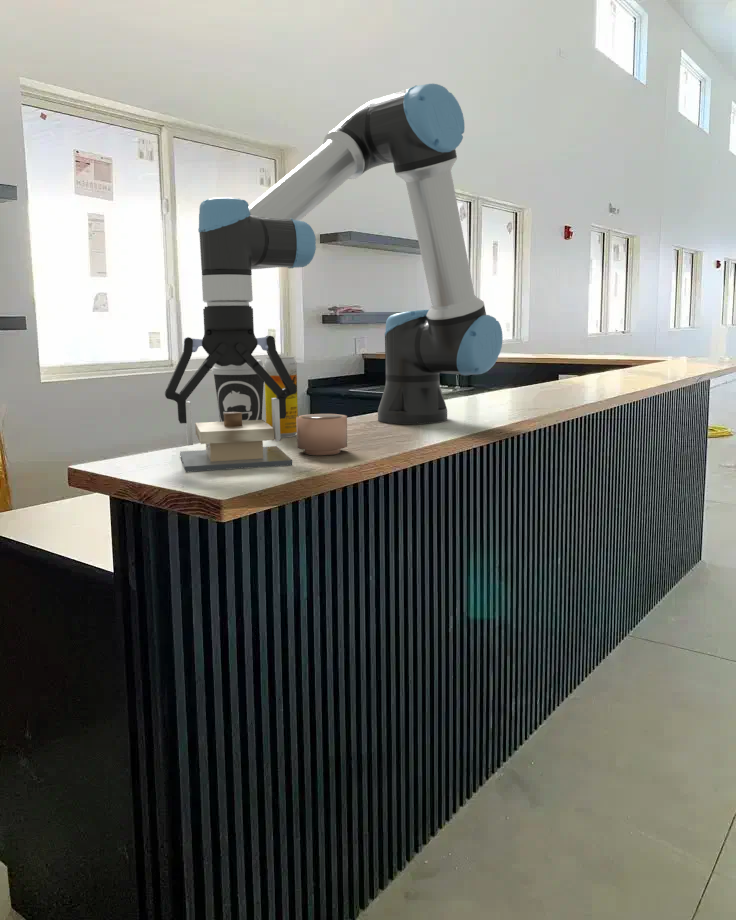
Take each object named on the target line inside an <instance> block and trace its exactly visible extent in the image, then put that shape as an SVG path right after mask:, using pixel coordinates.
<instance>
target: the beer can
mask: <svg viewBox="0 0 736 920" xmlns="http://www.w3.org/2000/svg"><path fill="white" fill-rule="evenodd" d="M279 356H280V358H281V360H282V362H283V364H284V366H285V368H286V369H287V371H288V373H289V375H290V377H291V379H292V381H293V383H294V385H295V386H296V388H297V389H298V373H297V372H298V370H297V361H296V359H295V356H293V355H291V356H290V355H285V356H284V355H282V356H281V355H279ZM265 357H266V358H265V361H264V362H263V366H265V368H266V371H267V373H268V374H269V375H270V376H271V377H272V378H273V380H274V381H275V382H276V383H277V384H278V385H279V386H280V387H281V388H282V389H284V388H285V386H284V384H283V382H282V380H281V378H280V376H279V375H278V373H277V371H276V369H275V367H274V365H273V363H272V361H271V360H270V358H269V356H265ZM272 398H277V396H276V395H275V394H274V392H273V391H272V390H271V389H270V388H269V387H268V386H267V385H266V384H265V383H264V399H265V400H264V401H265V422H266V423H268V424H269V425H270V426H271V427H273V426H272ZM298 408H299V406H298V391H297V392H296V393H295V394H292V395H290V396H288V397H287V398H286V417H285V418H284V419H280V439H281V438H291V437H295V436H296V437H297V423H296V417H297V416H299V413H298V412H299V410H298Z"/></svg>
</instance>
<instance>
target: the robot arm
mask: <svg viewBox="0 0 736 920" xmlns="http://www.w3.org/2000/svg"><path fill="white" fill-rule="evenodd" d="M464 133H465V118H464V114H463V110H462V108H461V105H460V103H459V101H458V99H457V98H456V97H455V95H454V94H453V93H452V92H451V91H449V90H448V88H446V87H445V86H444V85H441V84H438V83H426V84H419V85H413V86H411V87H409V88H407V89H403V90H400V91H396V92H394V93H390V94H387V95H384V96H379V97H376V98H373V99H371V100H370V101H368V102H366V103H365V104H363V105H361V106H360V107H358V108H357V109H356V110H355V111H353V112H352V113H351V114H350V115H348V116H347V117H346V118H344V119H343V120H342V121H341V122H340V123H339V124H337V125H336V126H335V127H334V128H333V129H331V130H330V131H329V132H328V133H326V135H325V136H324V137H323V142H322V145H321V146H320V147H318V148H317V149H316V150H315V151H314V152H312V153H311V155H309V156H307V158H305V159H304V160H303V161H302V162H300V163H299V164H298V165H297V166H295V168H293V169H292V170H291V171H289V172H288V173H287V174H286V175H285V176H284V177H282V178H281V179H280V180H279V181H278V182H276V183H275V184H274V185H273V186H271V187H270V188H269V189H268V190H266V192H264V193H263V194H262V195H261V196H259V197H258V198H257V199H256V200H255V201H253V202H251V203H250V205H249V202H248V201H246V200H245V199H241V198H237V197H212V198H207V199H205V200H203V201H202V202H201V203H200V204H199V208H198V209H199V212H198V233H199V234H198V235H199V248H200V267H201V285H202V286H201V288H202V302H203V303H206V306H204V308H203V310H202V311H203V313H202V315H203V332H204V333H203V337H202V339H201V338H192V337H189V336H186V337H185V338H184V339H183V352H182V353H181V355H180V357H179V360H178V362H177V365H176V367H175V369H174V371H173V374H172V375H171V378H170V381H169V382H168V384H167V387H166V389H165V391H164V396H165V399H167V400H172V401H175V402H176V405H177V420H178V422H179V424H185V430H186V431H185V432H186V434H185V435H186V445H187V446H194V440H193V439H194V438H193V419H192V418H193V417H192V402H191V401H187V399H188V398H189V397H191V396H190V395H191V394H192V393H193V392H194V391H195V389H196V388H197V387H198V385H199V384H200V383H201V381H202V380H203V379H204V378H205V377H206V375H208V373H209V372H210V371H211V370H212V368H213V367H214V366H215V363H216V364H217V365H220V366H228V365H235V366H241V365H243V364H245V363H247V364H248V365H249V366H250V367H251V368H252V369H253V370H254V371H255V373H256V374H257V375H258V376H259V377H260V378H261V379H262V380H263V381H264V385H265V384H266V385H267V386H268V387H269V388H270V389H271V390H272V391H273V392H274V394H275V395H276V396H277V398H272V426H273V428H274V440H273V441H275V442H276V441H277V442H278V441H281V438H280V419H284V418H285V417H286V398H287V397H288V396H290V395H292V394H295V393H296V392H297V393H298V387H297V388H296V386H295V385H294V383H293V381H292V379H291V377H290V375H289V373H288V371H287V369H286V368H285V366H284V364H283V362H282V360H281V358H280V356H281V355H279V353H278V351H277V346H276V340H275V337H274V336H273V335H266V336H264V337H263V336H262V337H256V336H255V328H254V325H255V324H254V308H252V307H253V306H251V305H250V303H252V302H253V299H254V297H253V279H252V278H253V277H252V275H253V274H252V271H253V270H262V269H275V268H287V269H294V268H295V269H297V268H298V269H299V268H304V267H306V266H308V265H309V264H311V262H312V261H313V259H314V256H315V254H316V250H317V245H316V244H317V239H316V234H315V231H314V230H313V228H312V226H311V225H310V224H309V223H308V222H306V221H303V220H302V219H303V218H305V217H306V216H308V215H309V213H310V212H312V211H314V209H315V208H316V207H318V206H319V205H320V204H321V203H322V202H324V200H325V199H327V198H328V197H329V196H331V195H332V193H334V192H335V191H336V190H337V189H338V188H340V187H341V186H342V185H343V184H345V182H346V181H348V180H357V179H358V178H359V177H360V176H362V175H363V174H364V173H365V172H367V171H368V170H371V169H373V168H377V167H379V166H383V165H386V164H393V168H394V172H395V175H396V176H397V177H399V178H400V179H402V180H403V181H404V182H405V185H406V190H407V195H408V198H409V204H410V208H411V212H412V213H411V214H412V217H413V222H414V227H415V231H416V235H417V241H418V246H419V250H420V255H421V260H422V264H423V268H424V270H423V271H424V274H425V278H426V279H425V280H426V283H427V288H428V293H429V298H430V303H431V307H430V308H429V309H420V310H411V311H410V310H409V311H408V310H407V311H402V312H398V313H394V314H391V315H389V316H388V318H387V319H386V322H385V332H384V354H385V355H384V356H385V357H384V359H385V361H384V362H385V364H384V365H385V385H384V390H383V393H382V397H381V399H380V403H379V406H378V409H377V420H378V421H379V422H382V423H387V424H388V423H389V424H404V425H409V424H410V425H415V424H416V425H418V424H419V425H420V424H422V425H423V424H434V423H435V424H437V423H443V422H446V421H448V408H447V405H446V401H445V398H444V395H443V392H442V388H441V383H440V374H448V375H449V374H451V375H462V376H464V377H465V376H470V375H473V376H474V375H475V376H476V375H482V374H485V373H487V372H488V371H489V370H491V368H493V367H494V365H495V364H496V362H497V361H498V359H499V355H500V354H501V352H502V347H503V338H504V337H503V331H502V329H503V328H502V326H501V324H500V321H498V320H497V318H495V317H494V316H492V315H490V314H487V310H486V308H485V302H484V300H482V299H480V298H479V297H477V296H476V294H475V290H474V284H473V281H472V280H473V279H472V274H471V270H470V269H471V268H470V265H469V259H468V254H467V248H466V243H465V238H464V233H463V228H462V227H463V226H462V222H461V217H460V211H459V206H458V201H457V195H456V191H455V190H456V189H455V185H454V180H453V174H452V168H453V167H454V165H455V163H456V161H457V159H458V157H457V150H456V149H457V148H458V147H459V146H460V145H461V143H462V141H463V139H464V136H463V134H464ZM258 346H260V348H261V350H263V351H266V353H267V357H269V358H270V360H271V361H272V363H273V365H274V367H275V369H276V371H277V373H278V375H279V376H280V378H281V380H282V382H283V384H284V386H285V388H284V389H282V388H281V387H280V386H279V385H278V384H277V383H276V382H275V381H274V380H273V378H272V377H271V376H270V375H269V374H268V373H267V372H266V371H265V370H264V368H263V367H262V366H261V365H260V364H259V363H258V361H257V360H258V359H256V358H255V357H254V356H253V355H252V354H253V353H254V351H255V350H256V348H257V347H258ZM199 347H202V348H203V349H204V351H205V352H206V354H207V357H206V358H205V359H204V360H203V362H202V364H201V365H200V366H199V367H198V369H197V370H196V371H195V373H194V374H193V375H192V377H190V379H189V380H188V382H187V383H186V384H185V386H184V387H183V388H182V389H181V390H180V391H179V392H177V389H178V387H179V384H180V382H181V380H182V378H183V375H184V374H185V371H186V369H187V367H188V364H189V362H190V361H191V358H192V354H193V353H196V352H197V351H198V349H199Z"/></svg>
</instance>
